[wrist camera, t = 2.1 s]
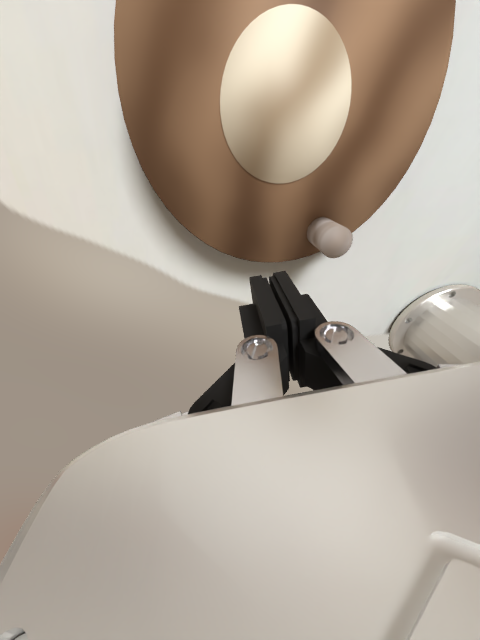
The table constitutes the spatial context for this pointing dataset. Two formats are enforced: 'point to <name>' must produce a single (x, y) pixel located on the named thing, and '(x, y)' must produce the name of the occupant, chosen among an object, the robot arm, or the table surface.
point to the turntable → (279, 112)
